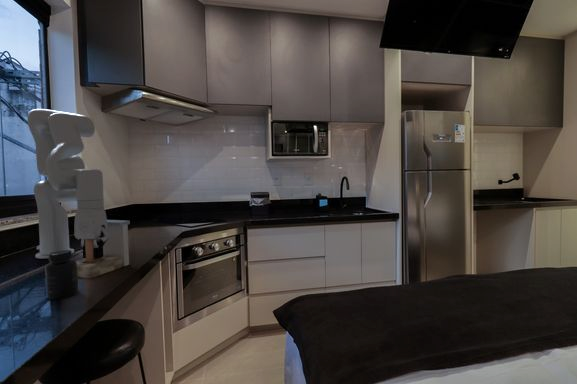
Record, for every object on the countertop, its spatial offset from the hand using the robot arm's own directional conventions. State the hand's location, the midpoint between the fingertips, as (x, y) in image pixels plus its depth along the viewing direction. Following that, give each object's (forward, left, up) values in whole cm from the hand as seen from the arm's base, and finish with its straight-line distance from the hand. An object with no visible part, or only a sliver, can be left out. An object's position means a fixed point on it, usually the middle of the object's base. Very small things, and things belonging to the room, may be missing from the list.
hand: (93, 257), depth 98 cm
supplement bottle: (+11, -18, -5) cm, 22 cm away
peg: (0, 0, -3) cm, 3 cm away
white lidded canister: (0, +8, -5) cm, 9 cm away
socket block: (0, 0, -5) cm, 5 cm away
